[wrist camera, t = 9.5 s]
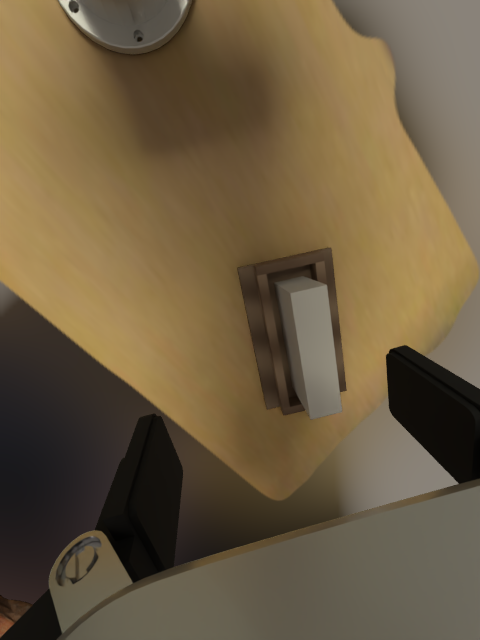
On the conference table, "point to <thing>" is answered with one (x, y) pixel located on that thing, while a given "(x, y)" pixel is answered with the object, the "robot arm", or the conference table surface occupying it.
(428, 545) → the robot arm
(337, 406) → the light grey block
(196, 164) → the conference table surface
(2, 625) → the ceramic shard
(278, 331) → the rack
